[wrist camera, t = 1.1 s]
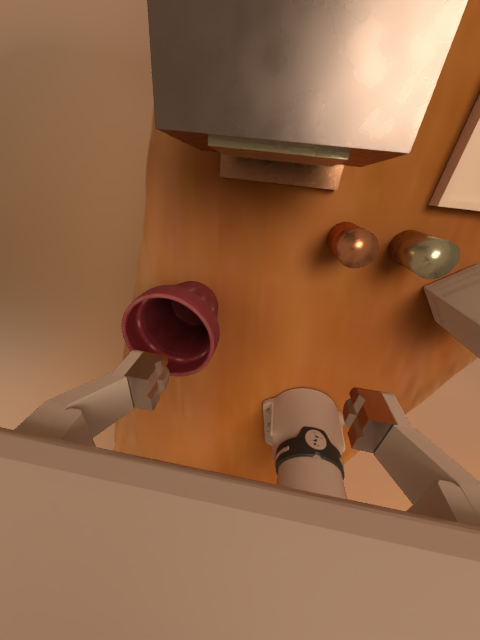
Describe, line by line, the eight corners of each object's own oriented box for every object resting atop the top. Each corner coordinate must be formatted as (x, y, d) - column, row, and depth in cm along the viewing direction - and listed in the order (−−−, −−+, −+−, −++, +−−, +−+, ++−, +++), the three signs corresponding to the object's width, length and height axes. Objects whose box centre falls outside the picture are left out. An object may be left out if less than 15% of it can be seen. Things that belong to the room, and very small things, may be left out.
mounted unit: (334, 190, 32) (394, 191, 15) (222, 177, 34) (157, 164, 16) (367, 68, 26) (531, -167, 9) (228, 58, 27) (136, -159, 10)
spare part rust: (353, 255, 36) (369, 270, 29) (323, 251, 36) (333, 265, 29) (363, 223, 34) (384, 232, 27) (332, 220, 34) (344, 227, 27)
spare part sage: (414, 263, 35) (446, 281, 28) (383, 259, 35) (407, 276, 29) (429, 232, 33) (468, 243, 26) (396, 228, 33) (426, 238, 26)
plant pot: (175, 251, 40) (134, 274, 29) (245, 292, 42) (231, 329, 31) (151, 312, 47) (110, 349, 36) (211, 345, 49) (190, 391, 38)
